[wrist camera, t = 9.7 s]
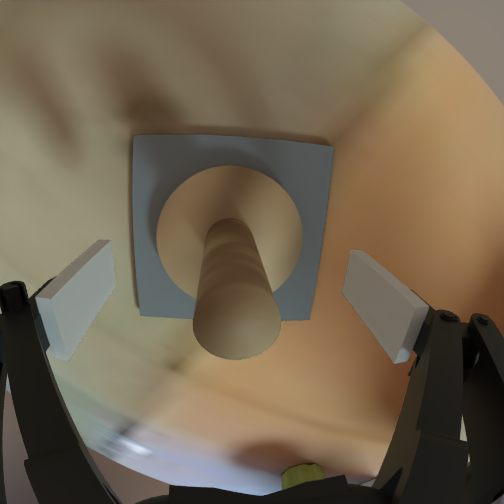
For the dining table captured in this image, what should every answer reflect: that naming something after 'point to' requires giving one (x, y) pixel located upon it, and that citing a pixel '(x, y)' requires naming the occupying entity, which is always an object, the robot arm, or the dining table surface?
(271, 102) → the dining table surface
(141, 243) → the mat
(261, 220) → the beige disc-based post
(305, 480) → the plant pot
